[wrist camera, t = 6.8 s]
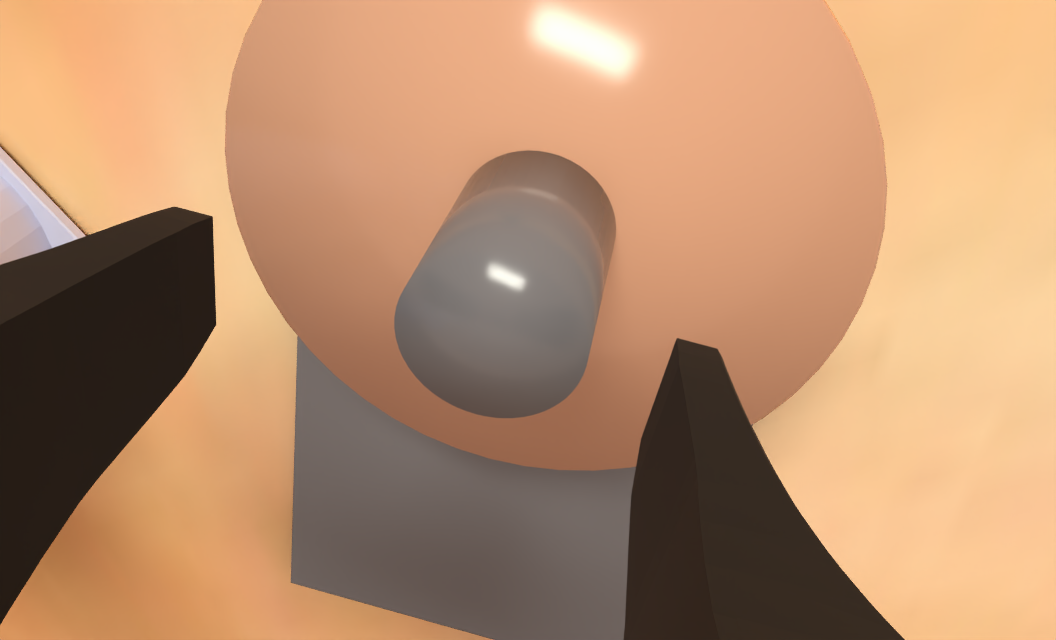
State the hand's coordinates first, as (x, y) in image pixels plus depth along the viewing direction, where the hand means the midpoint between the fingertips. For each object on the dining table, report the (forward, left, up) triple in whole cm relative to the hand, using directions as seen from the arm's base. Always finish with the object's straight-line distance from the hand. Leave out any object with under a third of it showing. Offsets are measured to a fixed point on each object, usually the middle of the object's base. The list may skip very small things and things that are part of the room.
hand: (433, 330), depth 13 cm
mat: (-10, -11, -10) cm, 18 cm away
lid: (0, -1, -5) cm, 5 cm away
